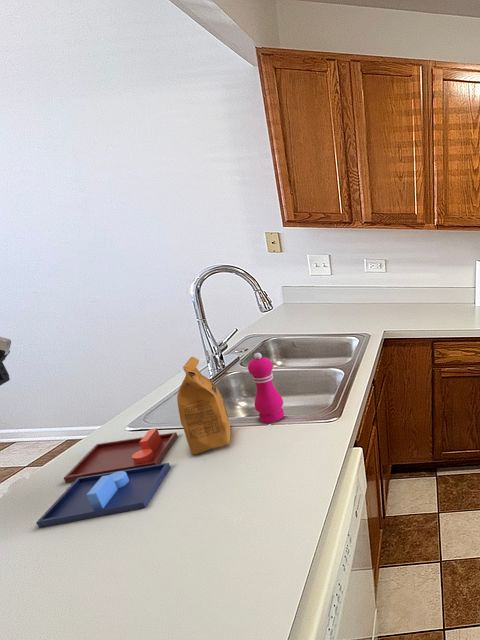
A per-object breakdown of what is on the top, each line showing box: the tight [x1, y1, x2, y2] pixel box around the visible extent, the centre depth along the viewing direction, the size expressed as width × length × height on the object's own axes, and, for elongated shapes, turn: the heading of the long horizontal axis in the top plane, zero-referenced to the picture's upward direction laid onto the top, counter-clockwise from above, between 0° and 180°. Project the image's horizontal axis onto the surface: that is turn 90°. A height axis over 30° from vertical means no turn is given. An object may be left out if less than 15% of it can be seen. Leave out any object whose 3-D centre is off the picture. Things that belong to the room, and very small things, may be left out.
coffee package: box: [176, 356, 231, 455], centre depth 99 cm, size 10×12×22 cm
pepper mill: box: [247, 352, 285, 424], centre depth 110 cm, size 7×7×20 cm
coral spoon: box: [132, 427, 162, 465], centre depth 97 cm, size 10×4×4 cm, turn 18°
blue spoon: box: [86, 471, 129, 510], centre depth 84 cm, size 10×4×4 cm, turn 18°
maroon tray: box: [63, 431, 179, 484], centre depth 96 cm, size 17×14×1 cm
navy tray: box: [36, 462, 171, 529], centre depth 84 cm, size 17×14×1 cm
